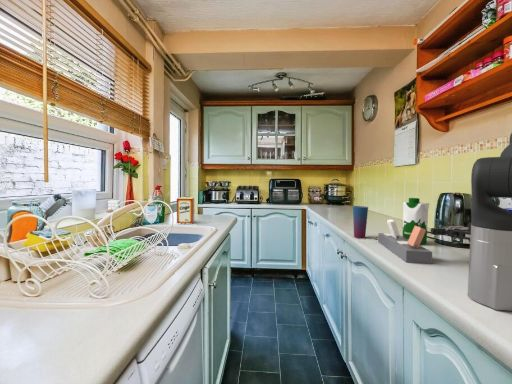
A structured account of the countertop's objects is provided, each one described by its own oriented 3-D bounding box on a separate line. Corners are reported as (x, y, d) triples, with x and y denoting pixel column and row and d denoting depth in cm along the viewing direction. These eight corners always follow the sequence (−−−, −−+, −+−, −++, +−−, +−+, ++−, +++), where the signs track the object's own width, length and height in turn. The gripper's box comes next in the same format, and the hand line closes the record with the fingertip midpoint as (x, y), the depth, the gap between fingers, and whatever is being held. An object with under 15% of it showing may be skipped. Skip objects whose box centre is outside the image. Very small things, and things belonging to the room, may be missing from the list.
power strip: (431, 263, 83) (432, 251, 83) (405, 262, 84) (406, 249, 84) (390, 238, 118) (391, 229, 118) (373, 238, 119) (373, 229, 119)
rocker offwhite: (400, 237, 100) (394, 220, 100) (396, 238, 100) (390, 222, 100) (396, 235, 104) (390, 219, 104) (391, 236, 105) (386, 220, 105)
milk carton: (399, 241, 113) (400, 197, 112) (408, 239, 118) (410, 197, 117) (420, 246, 106) (422, 199, 105) (429, 243, 111) (431, 198, 110)
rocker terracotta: (417, 248, 86) (426, 229, 86) (412, 246, 87) (421, 227, 86) (411, 245, 91) (419, 227, 90) (406, 243, 91) (414, 225, 90)
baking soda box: (194, 221, 161) (194, 197, 160) (192, 223, 154) (192, 197, 154) (179, 222, 160) (179, 197, 159) (176, 223, 154) (176, 197, 153)
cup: (368, 239, 117) (369, 207, 116) (353, 238, 118) (354, 207, 118) (365, 236, 124) (366, 206, 123) (350, 235, 125) (351, 205, 124)
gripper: (474, 219, 91) (422, 217, 94) (504, 226, 78) (443, 224, 81) (473, 239, 92) (421, 237, 94) (502, 249, 78) (442, 246, 81)
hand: (431, 231), depth 87 cm, fingers closed
